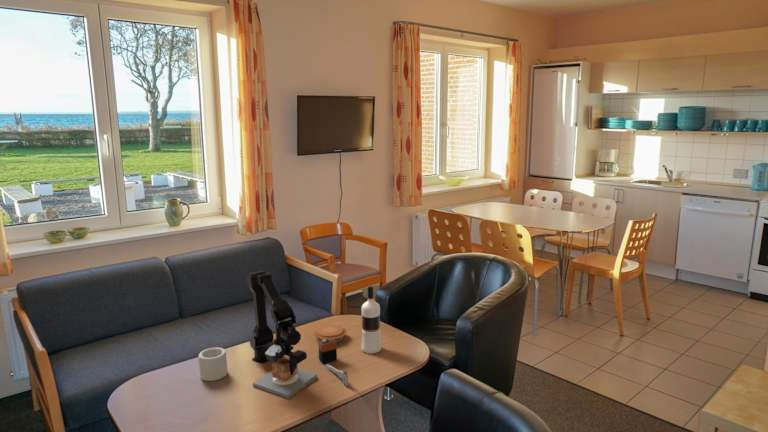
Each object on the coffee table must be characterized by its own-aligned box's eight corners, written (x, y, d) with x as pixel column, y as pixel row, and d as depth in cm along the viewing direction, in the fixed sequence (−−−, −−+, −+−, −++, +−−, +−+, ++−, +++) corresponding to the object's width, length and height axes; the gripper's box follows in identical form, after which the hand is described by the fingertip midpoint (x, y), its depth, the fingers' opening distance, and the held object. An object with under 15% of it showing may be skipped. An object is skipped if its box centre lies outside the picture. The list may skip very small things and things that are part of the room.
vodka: (367, 356, 230) (365, 291, 224) (357, 348, 238) (356, 285, 232) (385, 351, 234) (384, 287, 228) (375, 343, 242) (374, 282, 236)
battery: (318, 360, 227) (318, 339, 225) (333, 356, 230) (332, 335, 228) (322, 364, 223) (322, 342, 221) (337, 360, 226) (336, 339, 224)
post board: (253, 386, 206) (252, 372, 205) (283, 367, 221) (282, 353, 220) (288, 398, 197) (287, 384, 196) (317, 377, 212) (316, 364, 211)
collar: (272, 376, 207) (271, 363, 206) (284, 369, 213) (283, 355, 212) (286, 381, 204) (285, 367, 202) (297, 373, 210) (297, 359, 208)
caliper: (348, 387, 205) (348, 372, 204) (346, 387, 205) (345, 373, 203) (326, 365, 222) (326, 352, 221) (324, 366, 222) (324, 352, 220)
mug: (232, 374, 215) (230, 352, 213) (208, 384, 208) (206, 361, 206) (215, 364, 225) (214, 342, 222) (192, 373, 217) (190, 351, 215)
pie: (338, 348, 238) (337, 338, 237) (308, 343, 243) (307, 333, 242) (351, 335, 252) (351, 325, 251) (323, 330, 257) (322, 321, 256)
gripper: (250, 338, 203) (253, 375, 206) (287, 349, 194) (289, 387, 197) (270, 328, 212) (272, 363, 215) (306, 337, 203) (308, 374, 206)
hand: (285, 372), depth 208 cm, fingers closed on collar, 7 cm apart
